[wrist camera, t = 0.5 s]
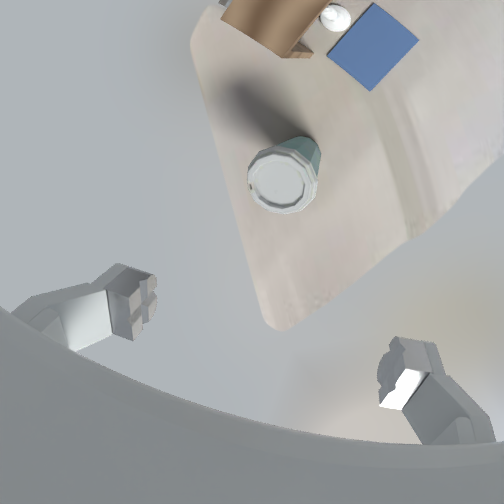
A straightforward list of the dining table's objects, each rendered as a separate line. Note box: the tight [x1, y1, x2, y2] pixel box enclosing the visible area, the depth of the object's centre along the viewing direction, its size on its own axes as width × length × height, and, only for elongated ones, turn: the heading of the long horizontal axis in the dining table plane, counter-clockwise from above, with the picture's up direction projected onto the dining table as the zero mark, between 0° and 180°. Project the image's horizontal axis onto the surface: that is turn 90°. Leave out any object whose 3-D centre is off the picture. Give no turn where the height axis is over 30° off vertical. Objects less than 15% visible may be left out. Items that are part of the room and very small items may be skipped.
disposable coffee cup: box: [247, 136, 321, 214], centre depth 48 cm, size 11×11×15 cm
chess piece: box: [320, 5, 351, 32], centre depth 33 cm, size 5×5×10 cm
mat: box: [327, 3, 419, 91], centre depth 37 cm, size 9×13×1 cm
